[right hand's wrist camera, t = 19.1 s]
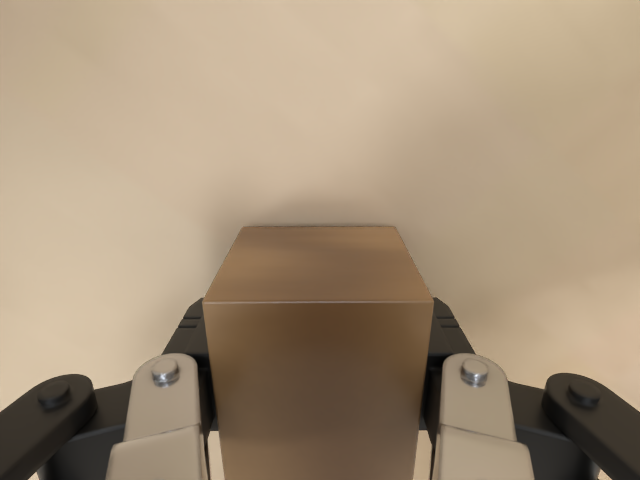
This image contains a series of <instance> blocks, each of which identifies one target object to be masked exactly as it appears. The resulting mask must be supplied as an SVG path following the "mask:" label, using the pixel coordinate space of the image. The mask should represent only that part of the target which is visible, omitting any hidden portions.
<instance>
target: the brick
mask: <svg viewBox="0 0 640 480" xmlns="http://www.w3.org/2000/svg"><path fill="white" fill-rule="evenodd" d="M202 305H203V313H204V321H205V329H206V337H207V344H208V352H209V360H210V368H211V376H212V384H213V391H214V399H215V407H216V415H217V423H218V430H219V438H220V446H221V454H222V462H223V469H224V477H225V480H413V474H414V465H415V457H416V449H417V440H418V432H419V423H420V415H421V407H422V398H423V390H424V381H425V373H426V365H427V356H428V348H429V340H430V331H431V323H432V314H433V306H434V301H433V298H432V297H431V295H430V293H429V291H428V289H427V287H426V285H425V283H424V281H423V279H422V277H421V275H420V274H419V272H418V270H417V268H416V266H415V264H414V262H413V260H412V258H411V256H410V254H409V252H408V251H407V249H406V247H405V245H404V243H403V241H402V239H401V237H400V235H399V233H398V231H397V229H396V227H242V229H241V231H240V232H239V234H238V236H237V238H236V240H235V242H234V244H233V245H232V247H231V249H230V251H229V253H228V255H227V256H226V258H225V260H224V262H223V264H222V266H221V268H220V269H219V271H218V273H217V275H216V277H215V279H214V281H213V282H212V284H211V286H210V288H209V290H208V292H207V293H206V295H205V297H204V299H203V301H202Z"/></svg>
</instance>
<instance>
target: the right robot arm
mask: <svg viewBox="0 0 640 480" xmlns="http://www.w3.org/2000/svg"><path fill="white" fill-rule="evenodd" d="M203 299H204V298H201V299H199V300H198V301H197V302H195V303H194V304H193V305H191V306H190V307H189V308H188V310H187V312H186V314H185V315H184V317H183V319H182V320H181V322H180V324H179V326H178V328H177V329H176V331H175V332H174V334H173V336H172V338H171V339H170V341H169V343H168V344H167V346H166V348H165V350H164V351H163V353H162V355H161V356H158V357H155V358H153V359H151V360H149V361H147V362H146V363H144V364H143V365H142V366H141V367H139V368H138V370H137V371H136V372H135V374H134V377H133V380H131V381H129V382H126V383H122V384H118V385H114V386H109V387H104V388H100V389H95V390H94V388H93V384H92V382H91V380H90V379H89V378H88V377H86V376H84V375H80V374H68V375H62V376H58V377H54V378H52V379H49V380H46V381H44V382H42V383H40V384H38V385H37V386H35V387H33V388H32V389H31V390H29V391H28V392H26V393H25V394H24V395H22V396H21V397H20V398H18V399H17V400H16V401H14V402H13V403H12V404H10V405H9V406H8V407H6V408H5V409H4V410H3V411H1V412H0V480H28V479H29V478H30V477H31V476H32V475H33V474H34V473H35V472H37V475H38V477H39V480H212V479H211V467H210V454H209V447H208V436H209V433H210V431H219V430H218V423H217V415H216V407H215V399H214V391H213V384H212V376H211V368H210V360H209V352H208V344H207V337H206V329H205V321H204V313H203V305H202V301H203ZM433 301H434V306H433V314H432V323H431V331H430V340H429V348H428V356H427V365H426V373H425V381H424V390H423V398H422V407H421V415H420V423H419V430H427V431H428V434H429V438H430V441H431V444H432V447H431V454H430V467H429V479H428V480H599V479H598V478H597V477H598V475H599V472H600V469H602V470H603V471H604V472H605V473H606V474H607V475H608V476H609V477H610V478H611V479H612V480H640V412H639V411H637V410H636V409H635V408H633V407H632V406H631V405H629V404H628V403H627V402H625V401H624V400H623V399H621V398H620V397H619V396H617V395H616V394H615V393H614V392H612V391H611V390H610V389H608V388H607V387H605V386H604V385H602V384H600V383H599V382H597V381H594V380H592V379H590V378H587V377H584V376H581V375H577V374H572V373H558V374H554V375H552V376H550V377H549V378H548V380H547V382H546V386H545V389H540V388H535V387H531V386H526V385H522V384H517V383H513V382H510V381H507V377H506V374H505V372H504V371H503V370H502V368H501V367H499V366H498V365H497V364H496V363H494V362H493V361H491V360H489V359H487V358H485V357H482V356H479V355H476V354H475V352H474V350H473V349H472V347H471V345H470V343H469V342H468V340H467V338H466V336H465V335H464V333H463V331H462V329H461V328H459V324H458V322H457V321H456V319H454V315H453V314H452V312H451V310H450V308H449V307H448V306H447V305H446V304H444V303H443V302H442V301H440V300H439V299H438V298H433Z"/></svg>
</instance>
